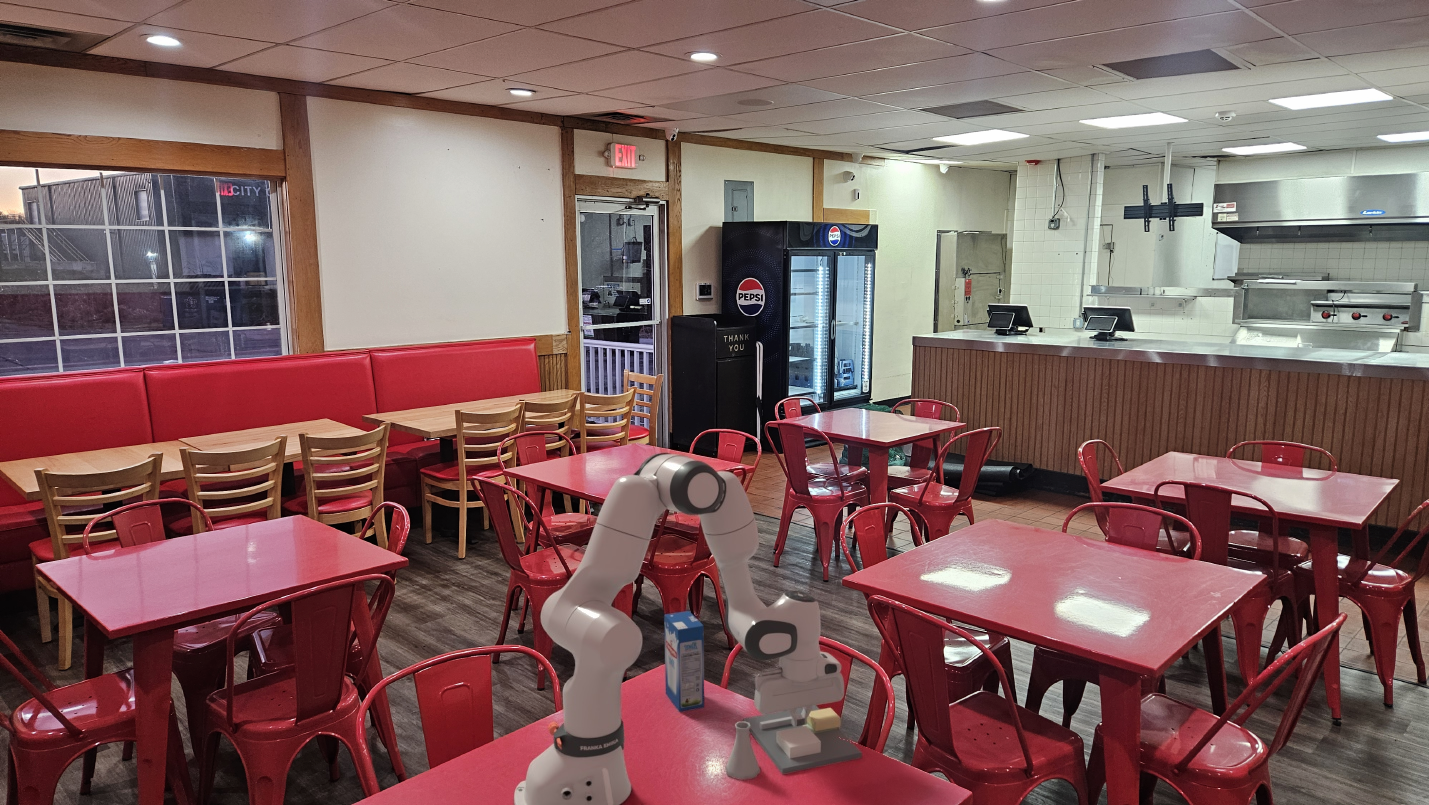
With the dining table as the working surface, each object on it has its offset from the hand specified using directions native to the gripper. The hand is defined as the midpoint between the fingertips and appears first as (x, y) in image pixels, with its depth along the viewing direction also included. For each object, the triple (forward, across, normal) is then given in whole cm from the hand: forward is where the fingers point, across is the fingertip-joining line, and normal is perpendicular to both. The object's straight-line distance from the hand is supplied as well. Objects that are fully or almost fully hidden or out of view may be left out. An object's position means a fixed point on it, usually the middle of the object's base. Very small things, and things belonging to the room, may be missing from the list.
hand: (799, 724), depth 199 cm
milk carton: (+2, -19, +24) cm, 30 cm away
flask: (+3, -17, -9) cm, 19 cm away
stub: (+1, +6, 0) cm, 6 cm away
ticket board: (+2, -1, -2) cm, 3 cm away
